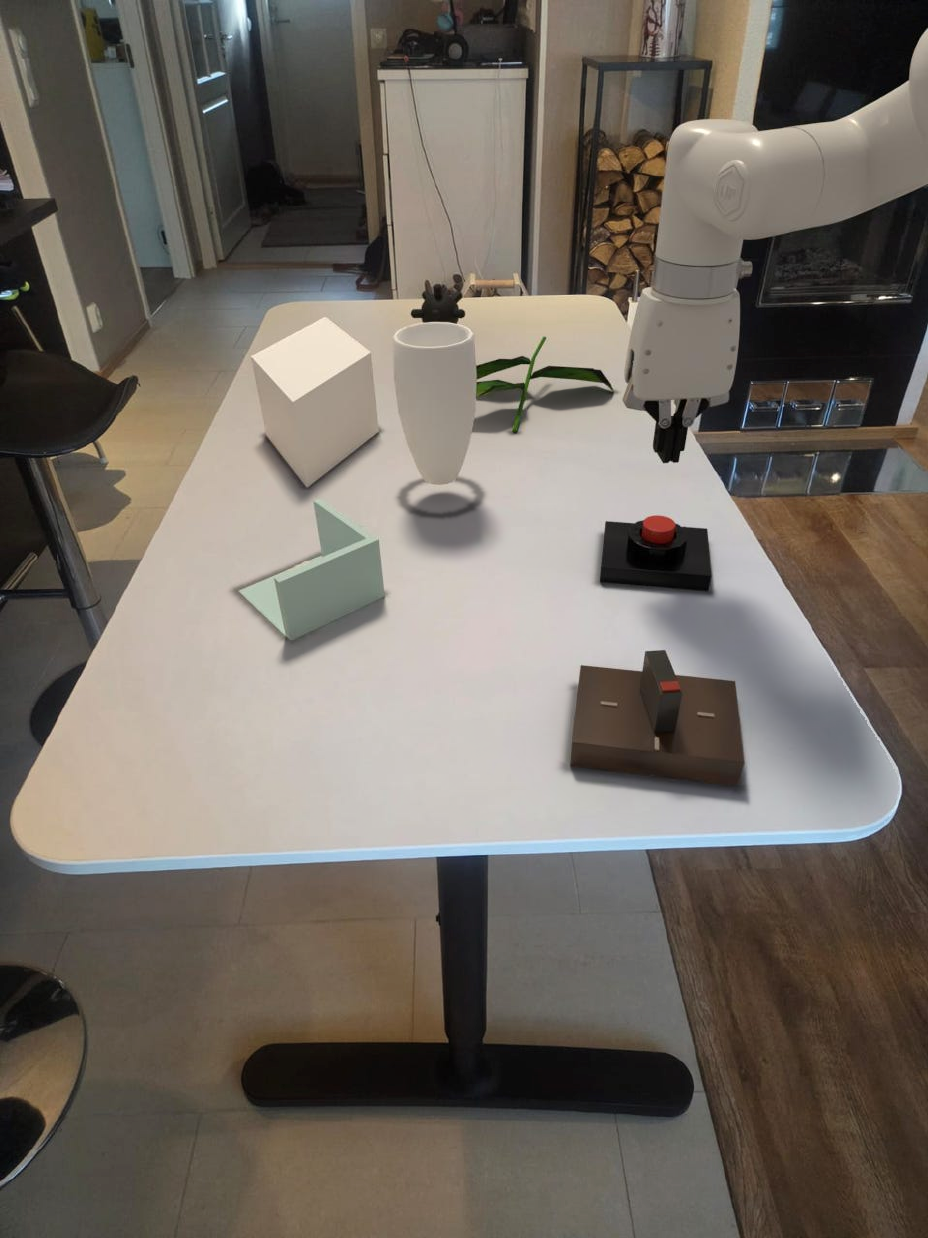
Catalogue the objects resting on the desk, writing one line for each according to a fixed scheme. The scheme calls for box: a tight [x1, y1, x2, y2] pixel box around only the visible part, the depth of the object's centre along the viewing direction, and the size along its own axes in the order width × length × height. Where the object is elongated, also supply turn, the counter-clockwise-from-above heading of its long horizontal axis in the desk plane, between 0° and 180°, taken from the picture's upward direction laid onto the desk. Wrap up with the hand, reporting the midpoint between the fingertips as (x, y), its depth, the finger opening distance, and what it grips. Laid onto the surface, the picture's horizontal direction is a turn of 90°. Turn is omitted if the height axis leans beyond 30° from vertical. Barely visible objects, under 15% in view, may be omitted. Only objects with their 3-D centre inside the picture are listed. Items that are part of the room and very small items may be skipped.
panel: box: [569, 664, 745, 787], centre depth 71 cm, size 14×10×3 cm
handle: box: [640, 649, 682, 733], centre depth 69 cm, size 6×2×5 cm, turn 3°
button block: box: [599, 519, 713, 593], centre depth 92 cm, size 12×10×4 cm
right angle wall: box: [238, 497, 386, 642], centre depth 88 cm, size 12×12×8 cm
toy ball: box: [410, 283, 466, 324], centre depth 156 cm, size 11×11×12 cm
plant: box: [476, 336, 615, 433], centre depth 130 cm, size 19×27×8 cm
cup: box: [391, 322, 477, 486], centre depth 101 cm, size 10×10×22 cm
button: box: [641, 514, 676, 544], centre depth 91 cm, size 4×4×2 cm
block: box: [250, 316, 380, 488], centre depth 120 cm, size 18×35×12 cm, turn 1°
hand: (667, 456), depth 85 cm, fingers closed
